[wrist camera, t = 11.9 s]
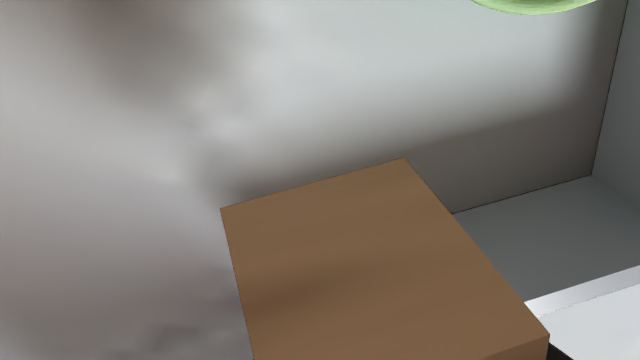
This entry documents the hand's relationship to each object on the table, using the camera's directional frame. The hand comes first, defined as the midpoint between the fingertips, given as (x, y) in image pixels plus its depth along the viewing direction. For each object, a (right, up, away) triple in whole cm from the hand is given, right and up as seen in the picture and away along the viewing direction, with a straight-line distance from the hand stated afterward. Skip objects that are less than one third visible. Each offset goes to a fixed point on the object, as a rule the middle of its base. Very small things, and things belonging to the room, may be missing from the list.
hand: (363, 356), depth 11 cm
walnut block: (-1, +1, +2) cm, 2 cm away
